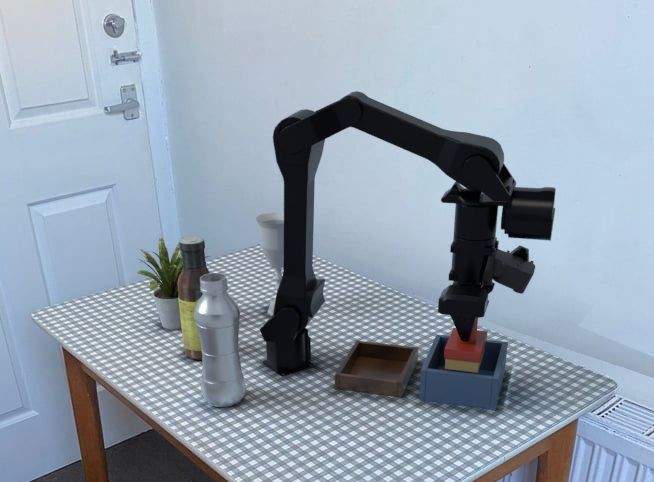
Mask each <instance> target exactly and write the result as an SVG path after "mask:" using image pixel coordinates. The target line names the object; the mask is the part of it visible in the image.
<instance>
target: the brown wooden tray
mask: <svg viewBox="0 0 654 482" xmlns="http://www.w3.org/2000/svg"><path fill="white" fill-rule="evenodd" d="M418 363H419V347H417V346H409V345H408V346H407V345H400V344H392V343H391V344H390V343H382V342H372V341H364V340H355V342H354V344H353V345H352V347H351V348H350V349H349V352H348V353H347V354H346V355H345V358H344V359H343V361H342V363H341V364H340V366H339V367H338V369H337V370H336V372H335V374H334V390H338V391H345V392H354V393H361V394H369V395H377V396H384V397H392V398H400V399H402V398H403V396H404V393H405V391H406V388H407V387H408V384H409V382H410V380H411V378H412V375H413V373H414V371H415V369H416V367H417V366H418V365H417V364H418Z"/></svg>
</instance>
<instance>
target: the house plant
mask: <svg viewBox="0 0 654 482" xmlns="http://www.w3.org/2000/svg"><path fill="white" fill-rule="evenodd" d="M183 238H184V237H181V239H183ZM210 249H211V248H209V250H210ZM139 250H140V251H141V253H142V254H144V255H142V256H143V257H144V258H145V259H146V260H142V259H140V258H138V260H139V261H140V263H144V264H145V265H146V266H147V267H148V268H149V269H150V270H152V271H153V272H154V273H155V274H156V275H155V274H154V273H152V272H150V271H148V270H144V269H142V270H138V271H137V272H136V274H137V275H142V276H146V277H148V278H149V279H150V278H151V279H152V280H154V281H149V293H151V292H152V297H153V301H154V304H155V306H156V309H157V313H158V316H159V319H160V321H161V326H162V327H163V328H164V329H166V330H182V327H181V318H180V309H179V300H178V296H179V292H178V285H177V284H178V278H179V275H180V273H181V272H182V269H183V266H182V254H181V252H180V251H181V250H180V246H179V242H178V244H177V245H176V248H175V249H174V250H173V252H172V255H171V259H170V256H169V251H168V248H167V246H166V243H165V240H164V238H163V237H159V239H158V253H156V252H154V251H152V253H153V254H155V256H156V257H157V258H158V260H159V263H158V262H157V260H156V259H155V258H154V257H153V256H152V255H151V254H150V253H149V252H148V251H145V250H143V249H142V248H139ZM206 250H208V248H205V249H204V251H206ZM210 257H211V255H206V256H205V259H206V258H210ZM148 263H149V264H150V265H151V266H150V265H149V264H148ZM152 266H153V267H152Z"/></svg>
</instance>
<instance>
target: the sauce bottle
mask: <svg viewBox="0 0 654 482" xmlns="http://www.w3.org/2000/svg"><path fill="white" fill-rule="evenodd" d="M182 238H183V239H182ZM182 238H181V239H180V240H179V241H178V243H179V246H180V250H179V251H180V253H181V254H182V266H183V269H182V272H181V273H180V275H179V278H178V284H177V285H178V292H179V296H178V300H179V309H180V318H181V327H182V328H181V334H182V344H183V347H184V354H185V355H186V357H187V358H189V359H191V360H200V361H202V350H201V349H202V348H201V344H200V338H199V334H198V330H197V326H196V322H195V318H194V311H195V307H196V305H197V303H198V301H199V299H200V298H201V296H202V295H203V293H202V292H201V291H200V286H201V285H200V277H201V276H203V275H205V274H210V271H209V267H208V266H207V262H206V258H205V257H206V256H205V255H206V254H205V250H204V249H206V244H205V239H204V238H203V237H201V236H187V237H182Z"/></svg>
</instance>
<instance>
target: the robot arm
mask: <svg viewBox="0 0 654 482" xmlns="http://www.w3.org/2000/svg"><path fill="white" fill-rule="evenodd" d="M349 128H352V129H353V128H354V129H355V130H357V131H360V132H363V133H365V134H368V135H370V136H372V137H374V138H377V139H379V140H381V141H384V142H385V143H388V144H391V145H393V146H394V147H395V146H396V147H397V148H400V149H402V150H405V151H407V152H409V153H411V154H414V155H416V156H418V157H421V158H423V159H425V160H427V161H429V162H430V163H432V164H433V165H435V166H436V167H437V168H438V169H440V171H441V172H442V173H444V174H445V175H446V176H447V177H449V178H450V179H452V180H453V181H454V183H453V184H452V186H451V187H450V188H448V190H446V191H445V192H444V194H443V195H442V196H441V198H440V201H441V203H443V204H455V206H454V207H455V209H454V222H453V223H454V226H453V238H452V242H451V244H450V247H449V248H450V249H449V252H450V253H451V254H452V255H451V268H450V270H449V273H448V281H449V282H450V281H451V282H452V284H449V285H448V286H447V287H445V288H444V289H443V290H442V291H441V294H440V296H439V298H438V304H437V307H438V308H437V313H439V314H441V315H448V316H450V318H451V321H452V322H453V325H454V328H456V330H457V332H458V334H459V337H460V339H461V341H464V342H468V341H469V339H470V336H471V332H472V329H473V325H474V322H475V318H478V319H481V318H483V317H485V315H486V312H487V309H488V306H489V303H490V300H489V294H490V293H492V292H493V291H494V287H495V285H496V283H497V284H500V285H502V286H504V287H507V288H508V289H511V290H512V291H513V292H514V293H517V294H520V295H521V294H524V293H525V292H526V289H527V288H528V286H529V284H530V282H531V280H532V278H533V277H534V274H535V270H536V265H535V264H534V261H533V260H530V249H529V248H527V247H525V246H523V245H518V246H516V248H514V249H513V250H511V251H510V250H506V251H505V250H502V249H499V244H500V241H499V240H498V237H496V236H497V235H496V234H497V225H498V216H499V215H498V213H499V207H502V210H501V217H500V230H502V231H503V234H504V235H507V238H510V239H520V240H521V239H522V240H534V241H535V240H537V241H538V240H539V241H550V242H551V241H552V235H553V228H554V221H555V215H556V214H555V213H556V208H555V201H556V191H557V188H556V187H554V186H553V187H551V186H544V187H543V186H542V187H522V186H517V181H516V179H515V178H514V177H513V175H512V173H511V172H510V170H509V168H508V167H507V165H506V164H505V153H504V150H503V147H502V145H501V144H500V142H499V141H497V139H494V138H493V137H490V136H485V135H482V134H476V133H472V132H468V131H466V132H465V131H456V130H449V129H445V128H441V127H439V126H437V125H435V124H432V123H430V122H428V121H425V120H423V119H420V118H418V117H416V116H414V115H411V114H410V113H407V112H404V111H402V110H399V109H397V108H395V107H392V106H390V105H388V104H386V103H384V102H380V101H378V100H376V99H373V98H371V97H369V96H368V95H366V93H363V92H362V91H357V90H356V91H351V92H350V93H348V94H346V95H345V96H343V97H341V98H340V99H339V100H337V101H334V102H332V103H330V104H328V105H325V106H324V107H321V108H319V109H317V110H315V111H314V110H312V109H309V108H308V109H307V108H306V109H305V108H304V109H300V110H297V111H295V112H293V113H291V114H290V115H288V116H287V117H285V118H283V119H281V120H280V121H279V122H278V123H277V124H276V126H274V129H273V132H272V133H273V134H272V142H273V149H274V155H275V161H276V164H277V167H278V170H279V172H280V174H281V176H282V180H283V213H284V261H283V268H282V269H283V271H282V279H281V282H280V285H279V288H278V291H277V290H276V294H275V298H276V300H275V305H274V311H273V315H272V316H271V315H270V317H269V318H268V319H267V321H265V323H264V324H263V325H262V326H261V327H260V329H259V333H260V334H261V337H262V339H263V341H264V342H265V352H266V359H264V360H262V364H263V365H264V366H266V367H267V368H268V369H270V370H271V371H273V372H275V374H277V375H278V376H280V377H286V376H289V375H292V374H295V373H299V372H302V371H304V370H307V369H311V368H313V367H315V365H316V364H315V363H314V362H313V361H311V360H312V342H311V340H312V337H311V336H309V330H308V328H306V327H308V325H309V324H310V322H311V321H312V320H313V318H314V317H315V316H316V315H317V314H318V312H319V311H320V309H321V307H322V306H323V305H324V304H325V302H326V299H325V297H324V288H325V284H326V279H325V278H317V276H316V274H315V272H314V267H313V262H314V221H315V219H314V218H315V184H316V183H315V182H316V180H315V179H316V174H317V173H318V172H317V171H318V170H319V169H318V168H319V165H320V162H321V160H322V156H323V153H324V147H325V142H326V139H328V138H331V137H332V136H334V135H336V134H338V133H341V132H342V131H345V130H346V129H349ZM493 281H494V282H493ZM495 282H496V283H495Z"/></svg>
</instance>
